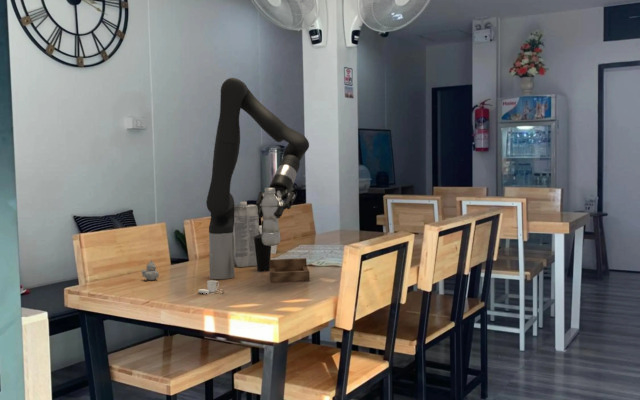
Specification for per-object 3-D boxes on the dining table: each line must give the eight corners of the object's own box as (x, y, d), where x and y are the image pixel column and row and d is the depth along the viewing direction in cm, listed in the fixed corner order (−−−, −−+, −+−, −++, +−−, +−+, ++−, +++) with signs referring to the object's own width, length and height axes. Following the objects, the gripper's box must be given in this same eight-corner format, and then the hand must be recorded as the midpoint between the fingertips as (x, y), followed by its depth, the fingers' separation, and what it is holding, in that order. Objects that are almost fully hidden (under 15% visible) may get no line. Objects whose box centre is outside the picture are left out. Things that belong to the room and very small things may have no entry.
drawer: (271, 282, 232) (270, 264, 232) (269, 276, 244) (269, 259, 244) (309, 281, 234) (309, 263, 233) (306, 275, 246) (306, 258, 246)
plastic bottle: (271, 243, 226) (269, 187, 225) (284, 245, 222) (283, 187, 220) (257, 246, 221) (256, 188, 220) (271, 247, 217) (270, 188, 215)
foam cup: (283, 252, 305) (282, 225, 305) (271, 255, 298) (271, 227, 297) (267, 251, 310) (266, 224, 310) (255, 253, 303) (254, 226, 302)
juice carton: (261, 266, 268) (259, 201, 266) (236, 268, 264) (235, 203, 262) (255, 263, 276) (253, 200, 274) (231, 264, 272) (229, 201, 270)
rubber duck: (155, 281, 238) (154, 260, 237) (138, 281, 239) (138, 260, 239) (161, 278, 243) (160, 258, 243) (145, 278, 244) (144, 257, 244)
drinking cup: (270, 272, 254) (269, 222, 252) (251, 271, 255) (250, 221, 254) (275, 268, 261) (274, 220, 260) (257, 268, 263) (256, 220, 261)
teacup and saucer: (199, 296, 213) (198, 284, 213) (196, 291, 221) (196, 280, 220) (225, 294, 215) (225, 282, 215) (222, 289, 223) (221, 278, 223)
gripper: (262, 173, 229) (246, 209, 220) (298, 173, 224) (283, 209, 214) (269, 187, 235) (254, 222, 225) (304, 187, 229) (290, 224, 219)
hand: (268, 216), depth 219 cm, fingers closed on plastic bottle, 6 cm apart
